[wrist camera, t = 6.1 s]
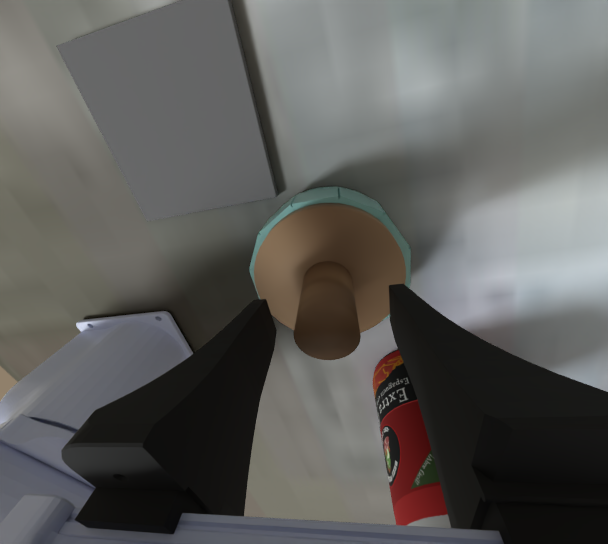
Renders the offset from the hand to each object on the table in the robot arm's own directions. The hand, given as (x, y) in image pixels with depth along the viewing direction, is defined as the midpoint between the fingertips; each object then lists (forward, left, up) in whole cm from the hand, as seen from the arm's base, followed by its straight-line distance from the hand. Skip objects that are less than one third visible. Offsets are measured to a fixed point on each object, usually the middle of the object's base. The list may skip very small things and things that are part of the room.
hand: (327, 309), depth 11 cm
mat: (-7, +9, -6) cm, 13 cm away
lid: (0, 0, -3) cm, 3 cm away
